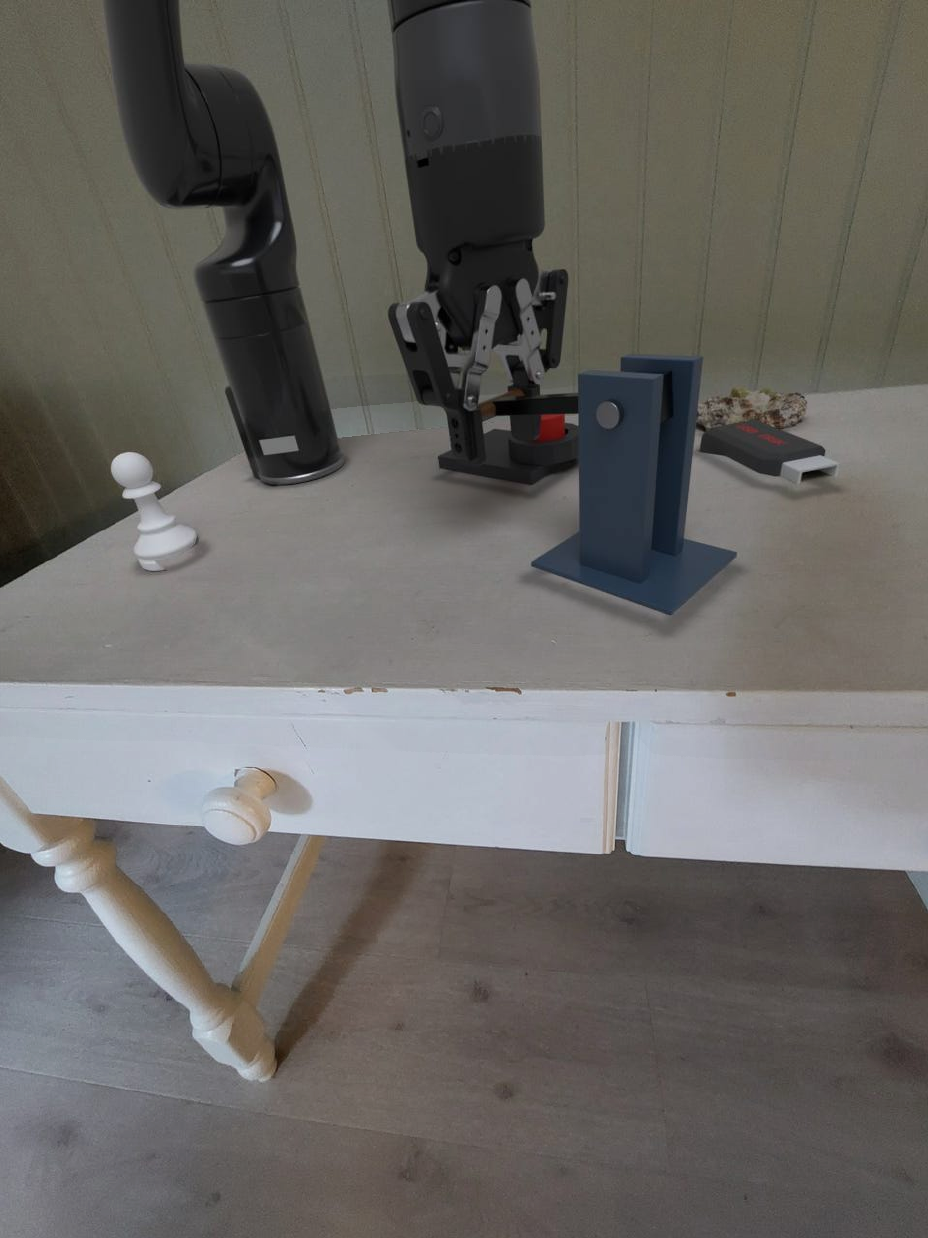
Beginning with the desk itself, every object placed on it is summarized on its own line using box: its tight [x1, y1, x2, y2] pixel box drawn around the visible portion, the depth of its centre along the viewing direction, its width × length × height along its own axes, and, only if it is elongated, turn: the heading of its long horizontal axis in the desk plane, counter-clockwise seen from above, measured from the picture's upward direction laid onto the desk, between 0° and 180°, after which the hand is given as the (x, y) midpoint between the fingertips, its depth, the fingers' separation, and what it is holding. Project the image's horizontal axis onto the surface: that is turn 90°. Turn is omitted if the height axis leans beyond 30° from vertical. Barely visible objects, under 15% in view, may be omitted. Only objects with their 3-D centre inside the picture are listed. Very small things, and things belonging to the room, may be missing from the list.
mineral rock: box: [696, 385, 808, 432], centre depth 57 cm, size 11×4×8 cm
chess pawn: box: [110, 451, 198, 572], centre depth 46 cm, size 5×5×9 cm
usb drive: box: [699, 420, 841, 485], centre depth 48 cm, size 5×12×3 cm, turn 11°
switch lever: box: [476, 371, 673, 424], centre depth 34 cm, size 13×5×2 cm, turn 45°
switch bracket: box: [530, 353, 738, 616], centre depth 33 cm, size 10×8×13 cm
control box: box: [437, 422, 579, 486], centre depth 54 cm, size 13×9×4 cm
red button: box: [533, 414, 566, 441], centre depth 50 cm, size 4×4×2 cm
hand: (499, 449), depth 40 cm, fingers closed on switch lever, 5 cm apart
